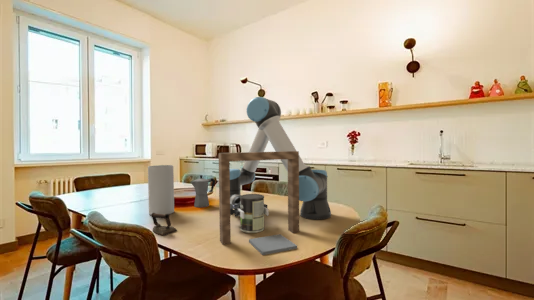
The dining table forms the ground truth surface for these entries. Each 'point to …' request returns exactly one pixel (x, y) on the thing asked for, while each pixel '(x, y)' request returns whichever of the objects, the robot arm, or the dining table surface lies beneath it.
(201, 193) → the coffeepot
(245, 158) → the walnut archway
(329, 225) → the dining table surface
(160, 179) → the cylinder vase
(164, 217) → the clothes iron
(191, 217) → the dining table surface
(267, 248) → the slate mat
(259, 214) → the coffee can
